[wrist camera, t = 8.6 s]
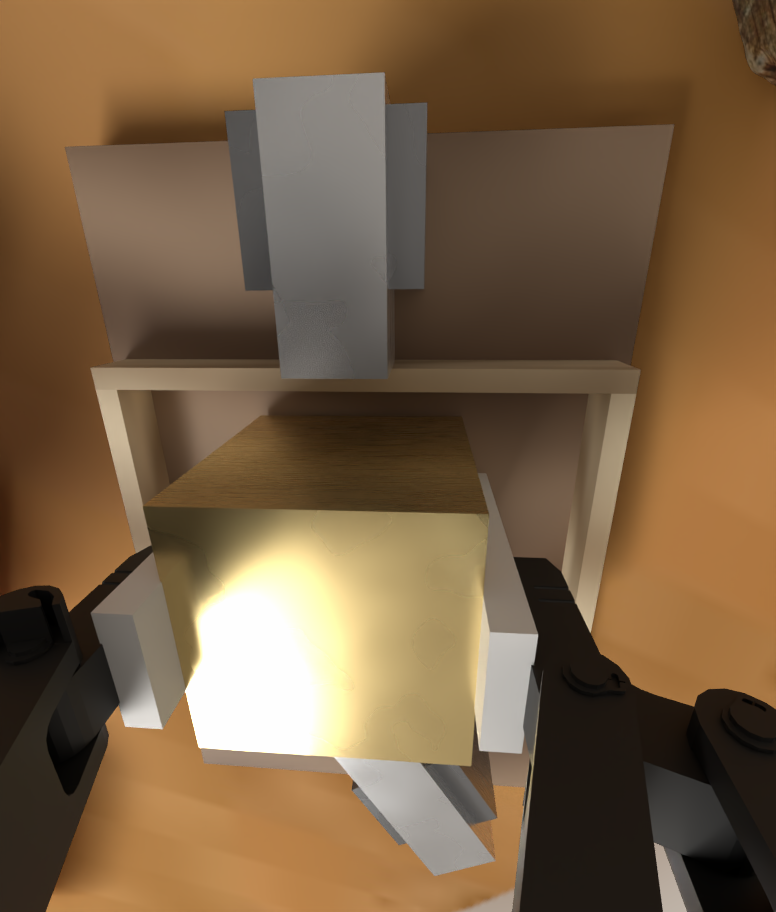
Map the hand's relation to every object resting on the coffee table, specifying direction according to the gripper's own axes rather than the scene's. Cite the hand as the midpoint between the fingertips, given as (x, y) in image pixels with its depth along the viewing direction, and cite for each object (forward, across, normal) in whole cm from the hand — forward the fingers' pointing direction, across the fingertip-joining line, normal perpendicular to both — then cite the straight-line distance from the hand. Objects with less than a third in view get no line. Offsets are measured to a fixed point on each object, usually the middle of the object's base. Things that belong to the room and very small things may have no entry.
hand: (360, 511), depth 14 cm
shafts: (+1, +1, -1) cm, 2 cm away
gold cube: (0, 0, 0) cm, 0 cm away
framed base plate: (+2, 0, -2) cm, 2 cm away
